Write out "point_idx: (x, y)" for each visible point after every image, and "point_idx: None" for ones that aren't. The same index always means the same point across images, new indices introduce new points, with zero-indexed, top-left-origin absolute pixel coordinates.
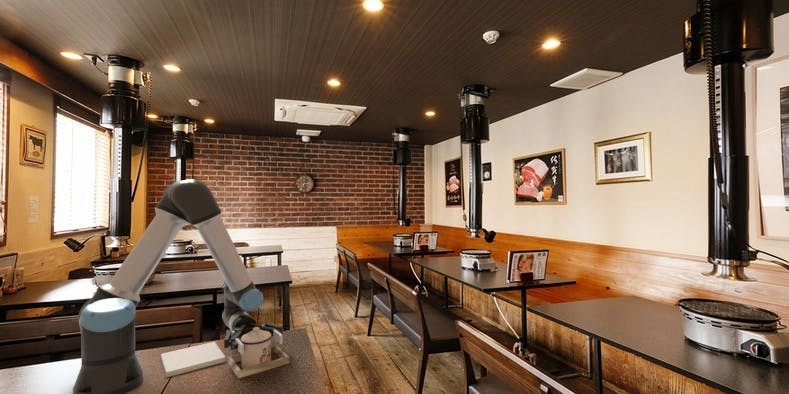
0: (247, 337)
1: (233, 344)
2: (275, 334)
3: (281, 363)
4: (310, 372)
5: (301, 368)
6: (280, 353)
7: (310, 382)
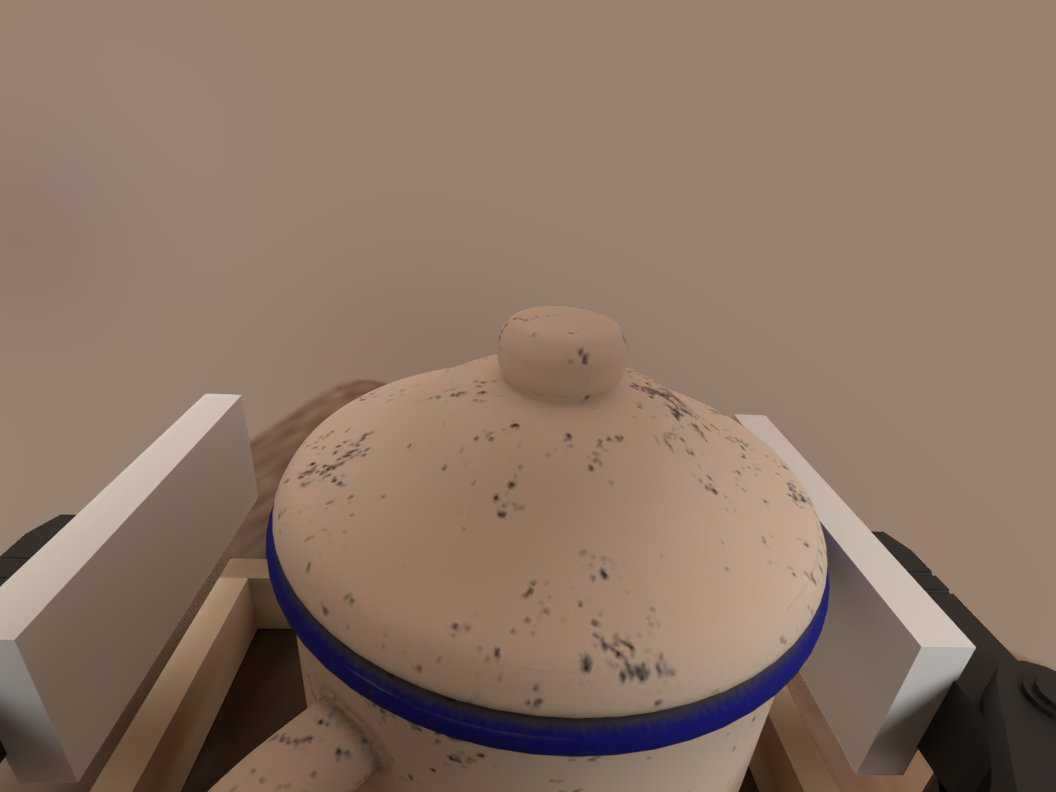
0: (703, 415)
1: (914, 559)
2: (137, 566)
3: None
4: (267, 446)
5: (257, 499)
6: (162, 763)
7: (349, 396)
